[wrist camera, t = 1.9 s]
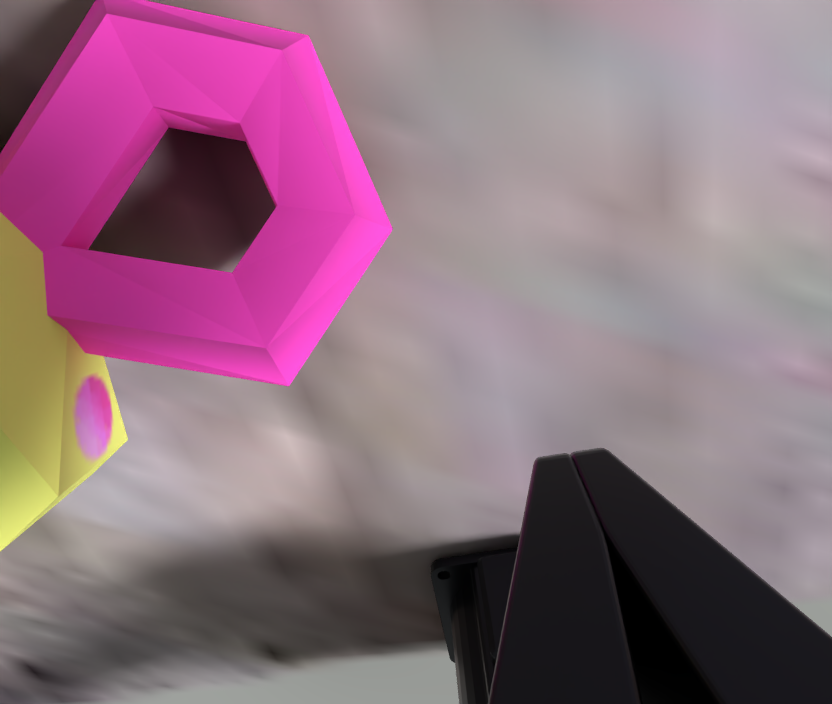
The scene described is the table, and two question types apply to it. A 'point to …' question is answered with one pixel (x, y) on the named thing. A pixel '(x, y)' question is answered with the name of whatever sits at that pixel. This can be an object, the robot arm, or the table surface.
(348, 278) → the toy
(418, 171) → the table surface
